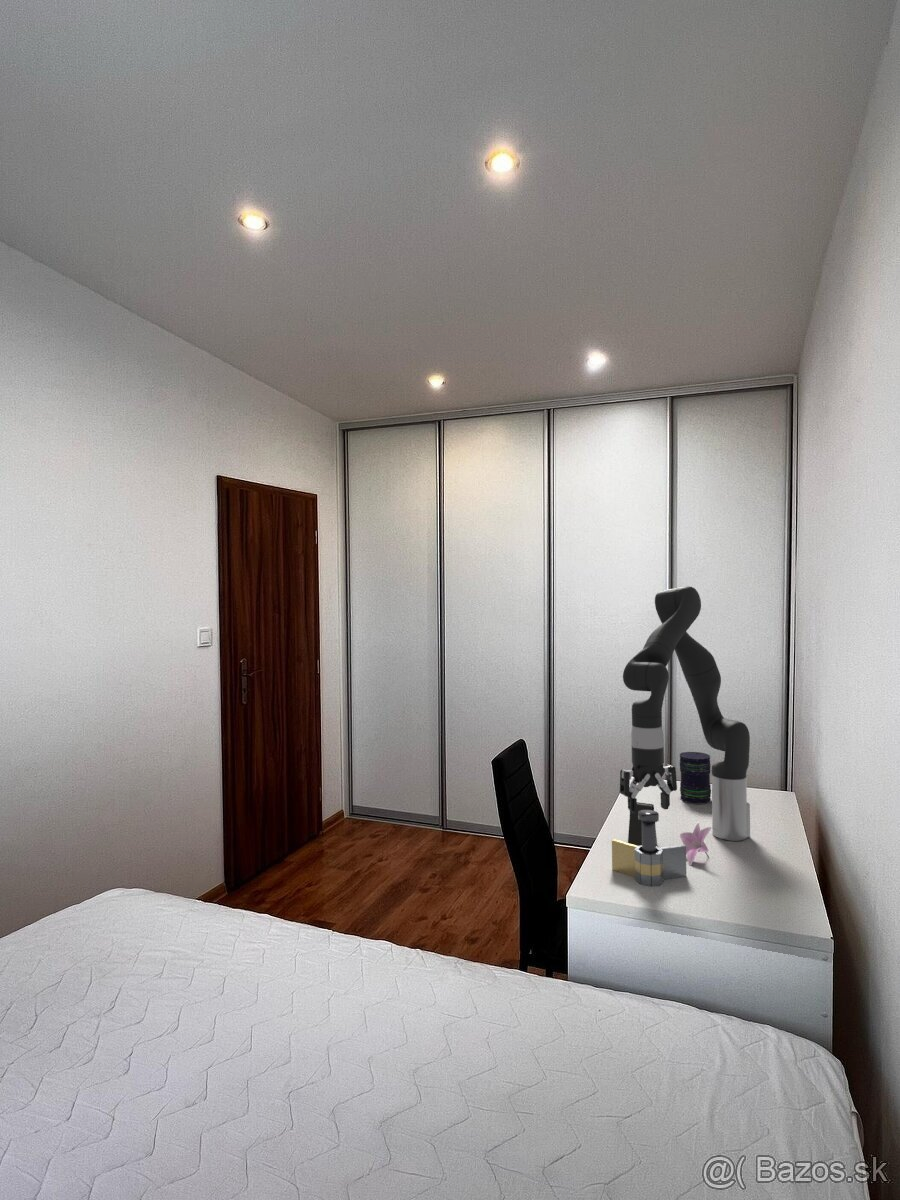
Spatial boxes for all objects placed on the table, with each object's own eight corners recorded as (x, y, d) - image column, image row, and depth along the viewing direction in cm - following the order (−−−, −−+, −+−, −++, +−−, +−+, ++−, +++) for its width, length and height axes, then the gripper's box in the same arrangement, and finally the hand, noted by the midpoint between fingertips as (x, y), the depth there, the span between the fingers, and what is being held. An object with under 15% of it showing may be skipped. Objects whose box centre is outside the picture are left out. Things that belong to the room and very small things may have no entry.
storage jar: (707, 805, 220) (706, 760, 220) (676, 801, 226) (676, 756, 226) (714, 797, 229) (713, 753, 228) (684, 793, 234) (683, 750, 234)
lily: (681, 851, 185) (668, 826, 183) (720, 840, 181) (707, 814, 180) (687, 880, 174) (673, 853, 173) (728, 868, 171) (714, 841, 169)
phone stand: (649, 854, 181) (648, 809, 181) (627, 850, 184) (626, 806, 184) (657, 843, 189) (656, 800, 189) (635, 839, 192) (635, 797, 192)
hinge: (664, 861, 176) (664, 833, 175) (692, 880, 164) (692, 849, 164) (611, 868, 172) (610, 839, 172) (635, 888, 160) (635, 857, 160)
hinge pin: (652, 875, 167) (651, 809, 167) (663, 883, 163) (662, 815, 163) (635, 877, 166) (634, 810, 166) (645, 885, 161) (644, 817, 161)
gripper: (664, 738, 169) (666, 802, 170) (613, 743, 166) (614, 809, 166) (682, 745, 162) (683, 812, 162) (629, 750, 158) (630, 818, 159)
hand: (649, 810), depth 164 cm, fingers open, 8 cm apart
